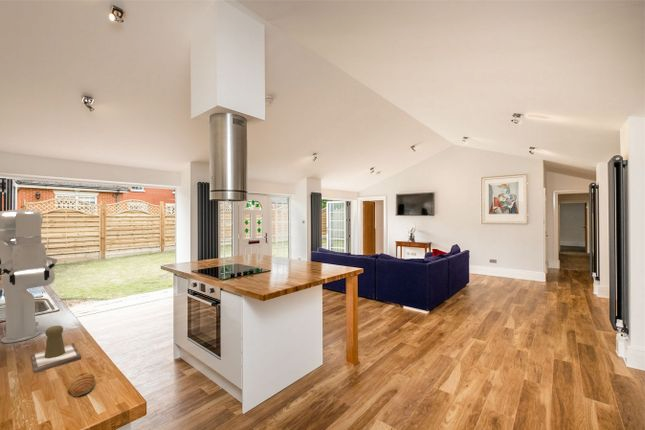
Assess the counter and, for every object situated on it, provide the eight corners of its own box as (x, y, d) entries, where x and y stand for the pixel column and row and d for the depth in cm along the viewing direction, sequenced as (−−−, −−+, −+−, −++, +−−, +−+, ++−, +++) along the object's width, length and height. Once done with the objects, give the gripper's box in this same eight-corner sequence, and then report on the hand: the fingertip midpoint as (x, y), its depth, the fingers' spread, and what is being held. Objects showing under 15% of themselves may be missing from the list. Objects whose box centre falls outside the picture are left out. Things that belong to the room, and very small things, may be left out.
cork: (53, 358, 112) (52, 330, 112) (40, 357, 113) (39, 329, 113) (69, 351, 118) (68, 324, 118) (56, 350, 119) (56, 323, 119)
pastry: (96, 392, 93) (96, 380, 93) (68, 401, 89) (68, 389, 88) (94, 379, 100) (93, 368, 100) (67, 388, 96) (67, 376, 95)
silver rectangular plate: (31, 356, 117) (30, 353, 117) (73, 345, 127) (73, 342, 127) (34, 372, 105) (34, 369, 105) (81, 358, 114) (81, 355, 114)
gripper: (-2, 243, 114) (0, 287, 114) (58, 239, 127) (59, 279, 127) (-3, 242, 119) (-2, 285, 119) (55, 239, 132) (56, 277, 132)
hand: (30, 282), depth 123 cm, fingers open, 9 cm apart
